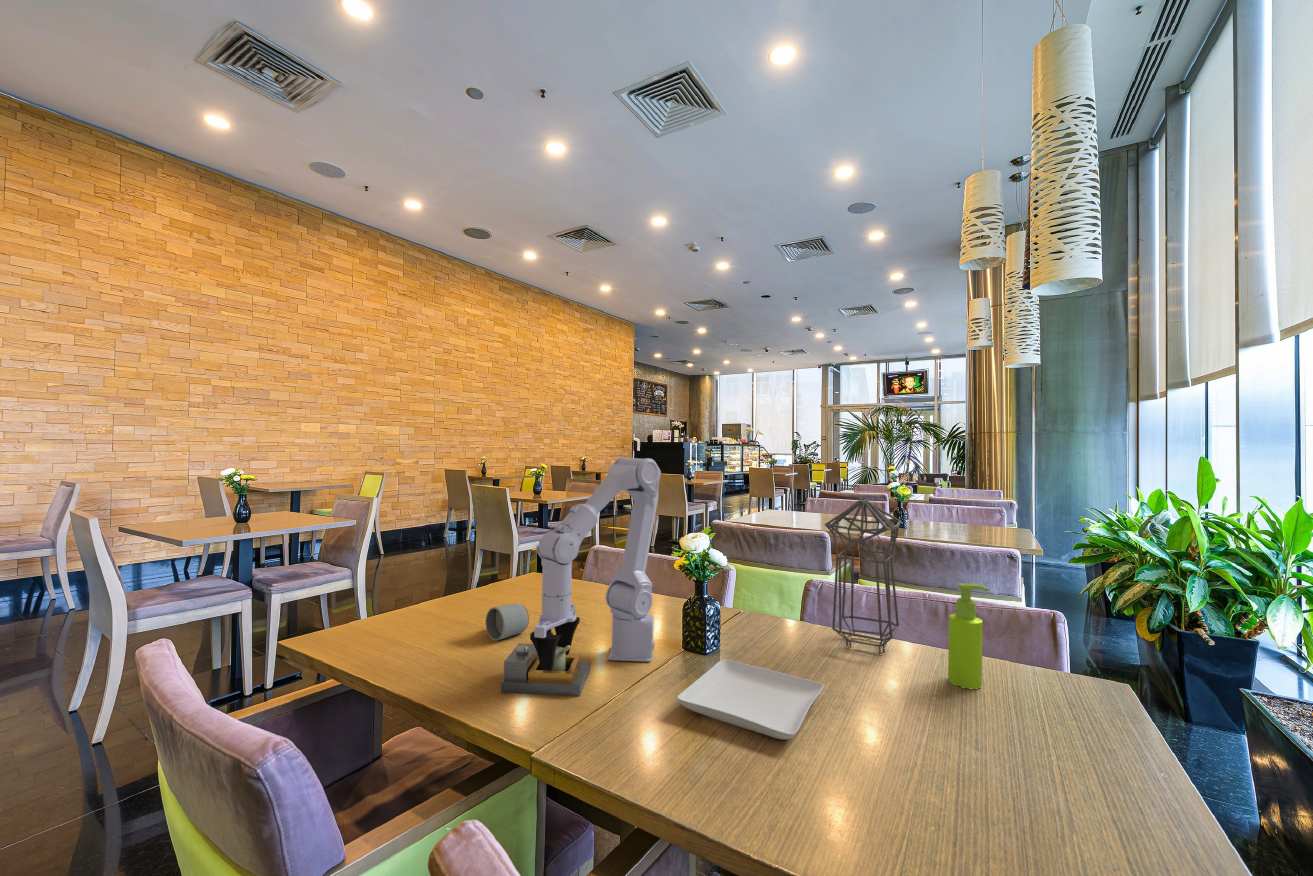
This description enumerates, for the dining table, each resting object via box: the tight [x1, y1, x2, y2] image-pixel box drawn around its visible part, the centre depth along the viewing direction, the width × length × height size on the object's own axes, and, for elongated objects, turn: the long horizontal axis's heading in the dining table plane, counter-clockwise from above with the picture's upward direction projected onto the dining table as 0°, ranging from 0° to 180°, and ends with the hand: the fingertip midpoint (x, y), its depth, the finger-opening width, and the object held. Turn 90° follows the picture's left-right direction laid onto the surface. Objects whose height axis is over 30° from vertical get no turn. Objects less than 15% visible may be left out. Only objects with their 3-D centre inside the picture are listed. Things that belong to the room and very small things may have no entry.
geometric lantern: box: [824, 499, 903, 655], centre depth 126 cm, size 16×16×35 cm
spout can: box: [545, 645, 571, 671], centre depth 104 cm, size 4×6×8 cm
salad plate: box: [676, 658, 825, 740], centre depth 96 cm, size 21×21×3 cm
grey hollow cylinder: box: [485, 603, 530, 642], centre depth 129 cm, size 11×8×8 cm
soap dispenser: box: [947, 582, 990, 690], centre depth 107 cm, size 6×7×20 cm
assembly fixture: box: [500, 642, 591, 697], centre depth 105 cm, size 15×11×7 cm
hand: (555, 661), depth 104 cm, fingers open, 7 cm apart
